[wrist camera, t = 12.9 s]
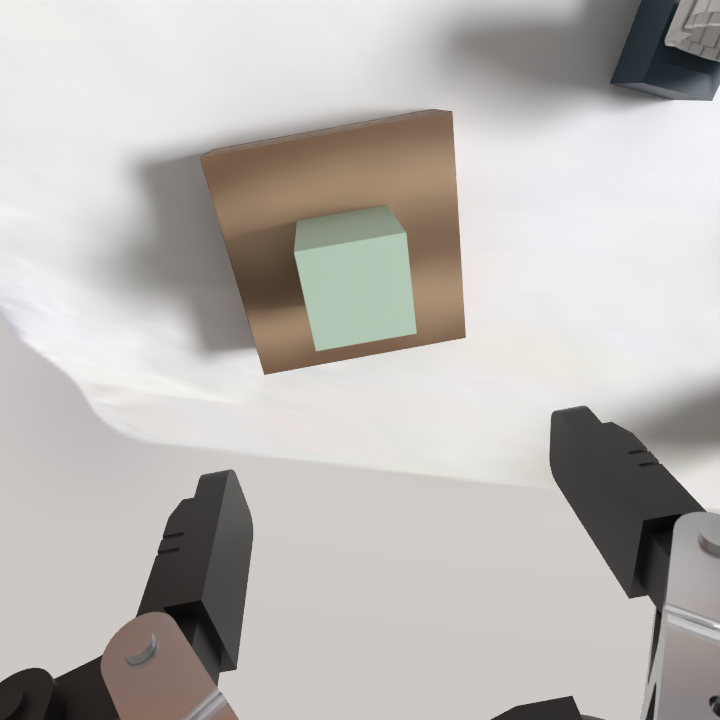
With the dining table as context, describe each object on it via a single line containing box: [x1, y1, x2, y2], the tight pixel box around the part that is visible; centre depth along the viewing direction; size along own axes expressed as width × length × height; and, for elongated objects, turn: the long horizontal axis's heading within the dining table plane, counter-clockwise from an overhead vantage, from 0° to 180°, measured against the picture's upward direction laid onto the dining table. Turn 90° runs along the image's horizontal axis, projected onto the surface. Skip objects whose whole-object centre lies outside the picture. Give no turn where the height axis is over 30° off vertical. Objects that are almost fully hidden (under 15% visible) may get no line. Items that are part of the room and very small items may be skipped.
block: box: [294, 205, 417, 351], centre depth 25 cm, size 5×5×6 cm
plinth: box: [200, 109, 466, 375], centre depth 30 cm, size 13×13×4 cm
